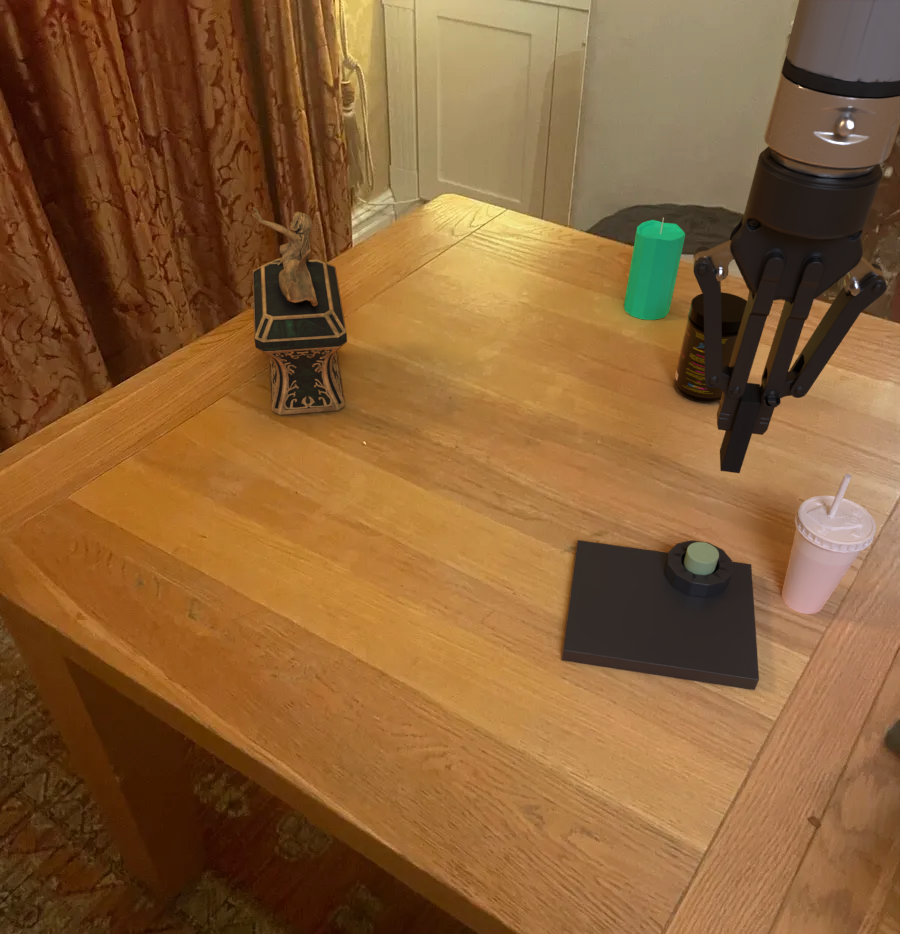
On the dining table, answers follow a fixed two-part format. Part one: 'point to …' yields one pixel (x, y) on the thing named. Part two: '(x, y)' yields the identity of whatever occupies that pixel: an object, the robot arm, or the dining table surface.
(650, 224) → the candle
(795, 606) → the smoothie
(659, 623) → the scale
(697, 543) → the button
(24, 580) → the dining table surface
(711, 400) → the supplement container
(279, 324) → the decorative box
